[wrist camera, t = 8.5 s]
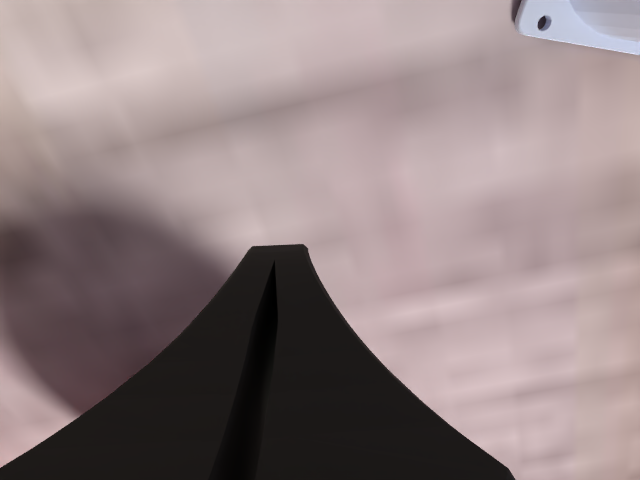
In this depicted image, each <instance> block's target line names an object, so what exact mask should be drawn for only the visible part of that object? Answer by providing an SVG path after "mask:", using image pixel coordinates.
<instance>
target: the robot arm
mask: <svg viewBox="0 0 640 480" xmlns="http://www.w3.org/2000/svg"><path fill="white" fill-rule="evenodd" d="M543 16H545V18H546V24H545V25H544V27H543V28H542V29H540V30H539V29H538V27H537V24H538V21H539V19H540V18H541V17H543ZM515 29H516V31H517V32H518V33H519V34H521V35H526V36H531V37H537V38H543V39H549V40H555V41H561V42H566V43H572V44H578V45H584V46H590V47H595V48H601V49H607V50H613V51H619V52H624V53H630V54H636V55H640V0H522V1H521V4H520V7H519V10H518V13H517V16H516V18H515ZM0 480H515V478H514V477H513V475H512V473H511V472H510V470H509V469H508V468H507V467H506V466H504V465H503V464H502V463H500V462H499V461H497V460H496V459H495V458H493V457H492V456H491V455H489V454H488V453H487V452H485V451H484V450H482V449H481V448H480V447H478V446H477V445H476V444H474V443H473V442H472V441H470V440H469V439H467V438H466V437H465V436H463V435H462V434H461V433H459V432H458V431H457V430H456V429H454V428H453V427H452V426H450V425H449V424H448V423H447V422H446V421H445V420H443V419H442V418H441V417H440V416H439V415H437V414H436V413H435V412H434V411H433V410H431V409H430V408H429V407H428V406H427V405H425V404H424V403H423V402H422V401H421V400H420V399H419V398H418V397H417V396H416V395H415V394H413V393H412V392H411V391H410V390H409V389H408V388H407V387H406V386H405V385H404V384H403V383H402V382H401V381H400V380H399V379H398V378H396V377H395V376H394V375H393V374H392V373H391V372H390V371H389V370H388V369H387V368H386V367H385V366H384V365H383V364H382V363H381V362H380V360H379V359H378V358H377V357H376V356H375V355H374V354H373V353H372V352H371V351H370V350H369V348H368V347H367V346H366V345H365V344H364V343H363V341H362V340H361V339H360V338H359V337H358V335H357V334H356V333H355V332H354V330H353V329H352V328H351V327H350V325H349V324H348V323H347V321H346V320H345V318H344V317H343V316H342V314H341V313H340V311H339V310H338V309H337V307H336V306H335V304H334V302H333V301H332V299H331V298H330V296H329V294H328V293H327V291H326V289H325V288H324V286H323V284H322V282H321V281H320V279H319V277H318V275H317V273H316V271H315V269H314V266H313V264H312V262H311V259H310V256H309V253H308V248H307V247H306V246H305V245H303V244H295V245H273V246H252V247H251V248H250V249H249V250H248V252H247V253H246V255H245V256H244V258H243V259H242V261H241V262H240V264H239V265H238V266H237V268H236V269H235V270H234V272H233V273H232V275H231V276H230V277H229V279H228V280H227V281H226V282H225V284H224V285H223V286H222V287H221V289H220V290H219V291H218V293H217V294H216V295H215V296H214V298H213V299H212V300H211V301H210V302H209V304H208V305H207V306H206V307H205V308H204V309H203V310H202V311H201V312H200V314H199V315H198V316H197V317H196V318H195V319H194V320H193V321H192V322H191V324H190V325H189V326H188V327H187V328H186V329H185V330H184V331H183V332H182V333H181V334H180V335H179V336H178V337H177V338H176V339H175V340H174V341H173V342H172V343H171V344H170V345H169V346H168V347H167V348H166V349H164V350H163V351H162V352H161V353H160V354H159V355H158V356H157V357H156V358H155V359H154V360H152V361H151V362H150V363H149V364H148V365H146V366H145V367H144V368H143V369H141V370H140V371H139V372H138V373H136V374H135V375H134V376H133V377H131V378H130V379H129V380H128V381H126V382H125V383H124V384H123V385H121V386H120V387H119V388H118V389H116V390H115V391H114V392H113V393H111V394H110V395H109V396H108V397H106V398H105V399H104V400H102V401H101V402H99V403H98V404H97V405H95V406H94V407H92V408H91V409H90V410H88V411H87V412H86V413H84V414H83V415H81V416H80V417H79V418H77V419H76V420H74V421H73V422H71V423H70V424H68V425H67V426H65V427H64V428H62V429H61V430H59V431H58V432H56V433H55V434H53V435H52V436H51V437H49V438H47V439H46V440H44V441H43V442H41V443H40V444H38V445H37V446H35V447H34V448H32V449H30V450H29V451H27V452H26V453H24V454H22V455H21V456H19V457H17V458H16V459H14V460H12V461H11V462H9V463H7V464H6V465H4V466H3V467H1V468H0Z"/></svg>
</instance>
